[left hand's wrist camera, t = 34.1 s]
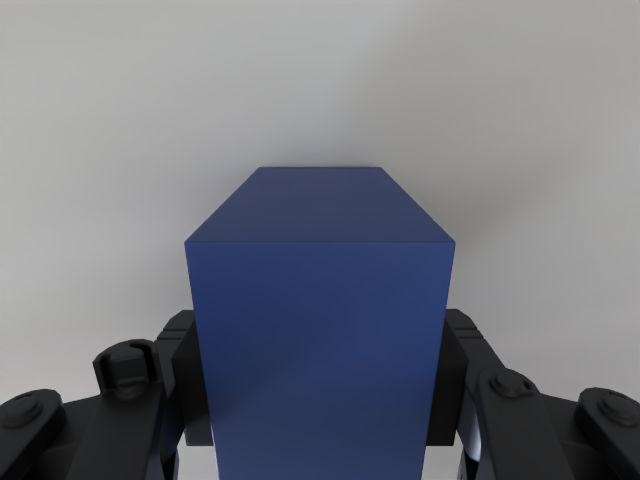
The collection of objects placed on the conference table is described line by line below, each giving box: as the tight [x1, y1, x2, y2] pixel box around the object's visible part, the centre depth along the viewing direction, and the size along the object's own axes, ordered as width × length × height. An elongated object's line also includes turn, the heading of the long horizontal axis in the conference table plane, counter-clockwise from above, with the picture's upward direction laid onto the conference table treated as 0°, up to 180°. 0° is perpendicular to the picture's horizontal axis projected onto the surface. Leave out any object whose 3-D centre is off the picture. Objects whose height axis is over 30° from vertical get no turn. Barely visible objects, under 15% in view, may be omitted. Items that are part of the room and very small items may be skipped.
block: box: [184, 167, 455, 480], centre depth 12 cm, size 8×5×9 cm, turn 0°
